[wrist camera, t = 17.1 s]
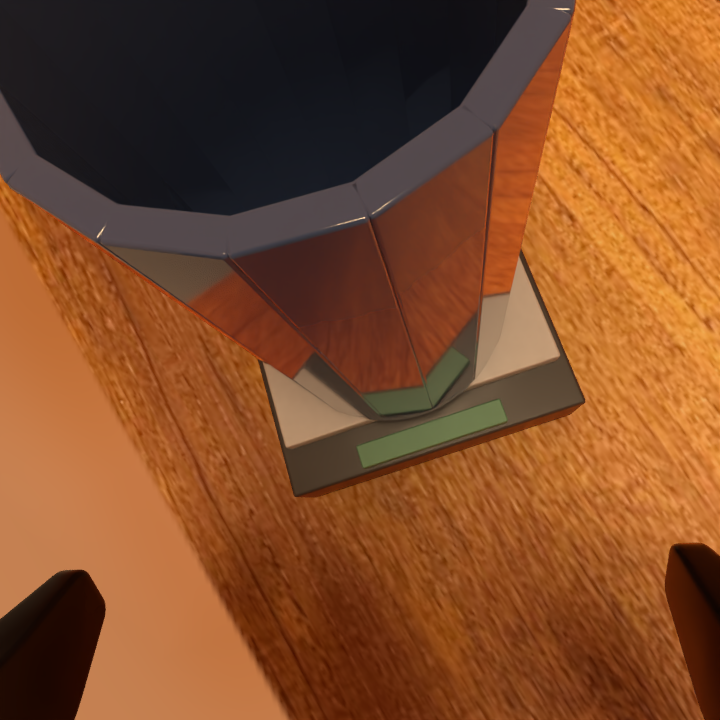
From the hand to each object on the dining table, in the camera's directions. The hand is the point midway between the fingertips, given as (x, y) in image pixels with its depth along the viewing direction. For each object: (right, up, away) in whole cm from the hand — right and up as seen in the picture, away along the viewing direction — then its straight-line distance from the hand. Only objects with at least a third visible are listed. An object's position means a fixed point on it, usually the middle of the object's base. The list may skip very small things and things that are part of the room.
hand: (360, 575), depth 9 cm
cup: (+1, +5, +9) cm, 10 cm away
